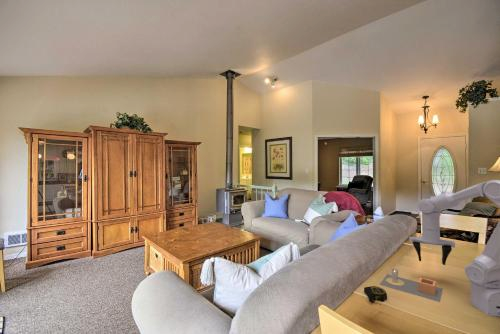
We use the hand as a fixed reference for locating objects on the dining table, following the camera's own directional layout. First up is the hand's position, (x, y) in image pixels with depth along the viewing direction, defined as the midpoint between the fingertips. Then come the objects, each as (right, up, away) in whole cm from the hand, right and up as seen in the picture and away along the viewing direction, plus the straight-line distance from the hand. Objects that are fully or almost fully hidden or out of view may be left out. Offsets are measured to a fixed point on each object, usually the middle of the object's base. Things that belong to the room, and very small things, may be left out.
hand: (431, 262), depth 98 cm
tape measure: (-28, -10, -10) cm, 32 cm away
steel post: (-15, -9, 0) cm, 17 cm away
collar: (-7, -8, -7) cm, 13 cm away
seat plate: (-11, -9, -3) cm, 15 cm away
